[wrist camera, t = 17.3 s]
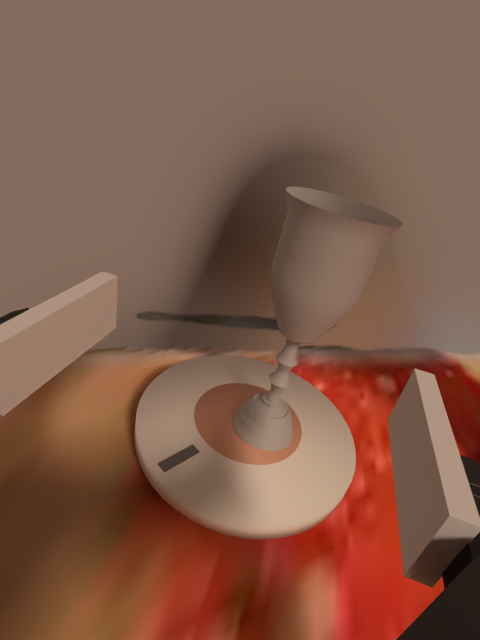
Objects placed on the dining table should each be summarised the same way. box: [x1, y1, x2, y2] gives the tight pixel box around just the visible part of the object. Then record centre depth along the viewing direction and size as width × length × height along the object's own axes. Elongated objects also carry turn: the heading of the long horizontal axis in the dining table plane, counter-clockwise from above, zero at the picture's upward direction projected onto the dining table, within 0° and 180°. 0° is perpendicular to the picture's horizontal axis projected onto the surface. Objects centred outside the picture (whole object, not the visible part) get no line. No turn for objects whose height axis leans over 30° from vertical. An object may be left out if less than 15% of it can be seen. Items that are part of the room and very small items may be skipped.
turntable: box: [134, 355, 356, 540], centre depth 31 cm, size 18×18×2 cm
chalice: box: [233, 187, 402, 451], centre depth 26 cm, size 7×7×18 cm
